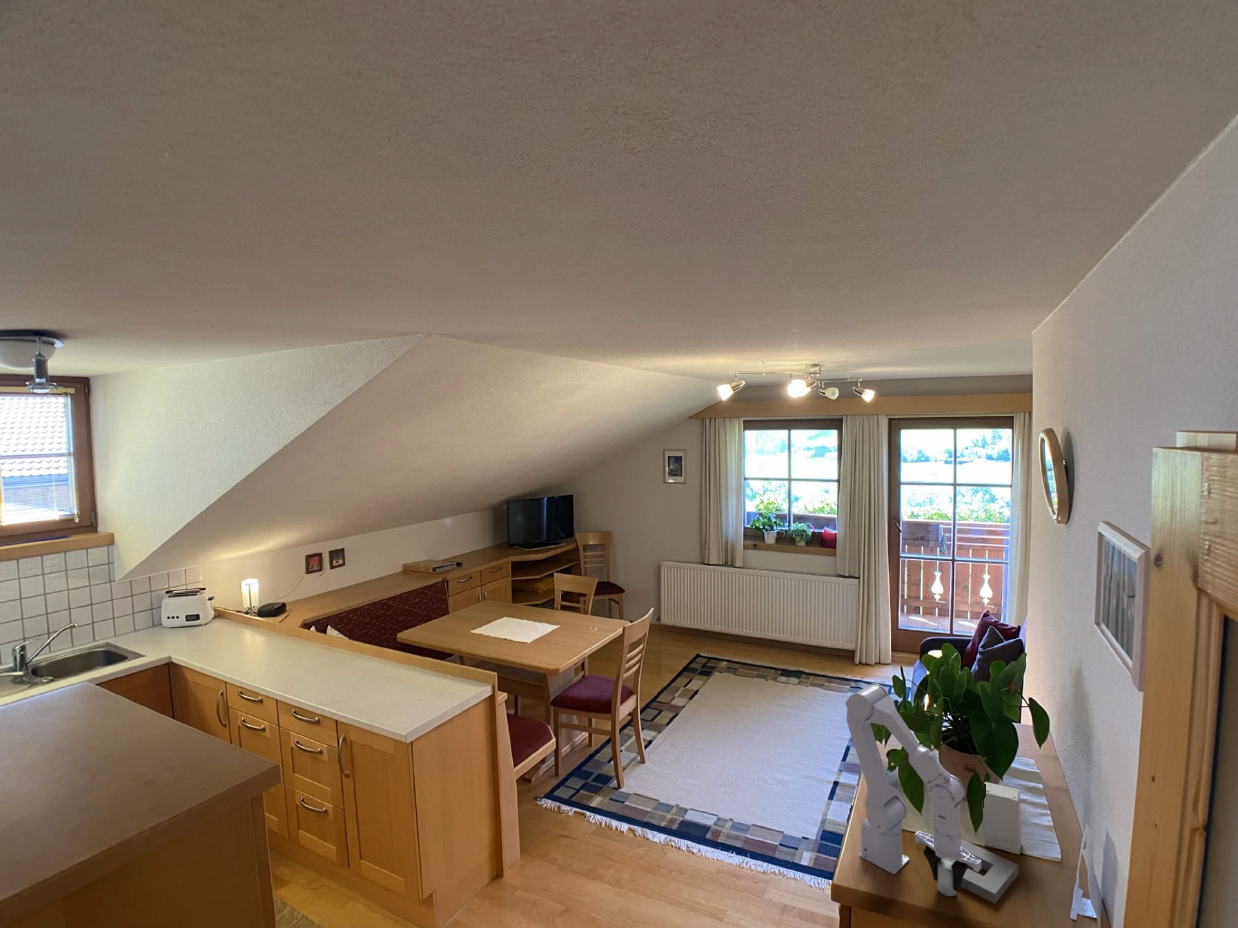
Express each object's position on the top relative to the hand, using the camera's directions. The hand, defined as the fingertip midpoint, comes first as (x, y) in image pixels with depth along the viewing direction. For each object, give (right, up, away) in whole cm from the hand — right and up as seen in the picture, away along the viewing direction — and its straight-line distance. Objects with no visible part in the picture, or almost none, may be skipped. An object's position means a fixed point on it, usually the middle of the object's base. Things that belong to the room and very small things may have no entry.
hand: (947, 883), depth 154 cm
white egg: (0, -2, 0) cm, 2 cm away
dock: (+10, -1, +5) cm, 11 cm away
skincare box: (+22, 0, +16) cm, 27 cm away
